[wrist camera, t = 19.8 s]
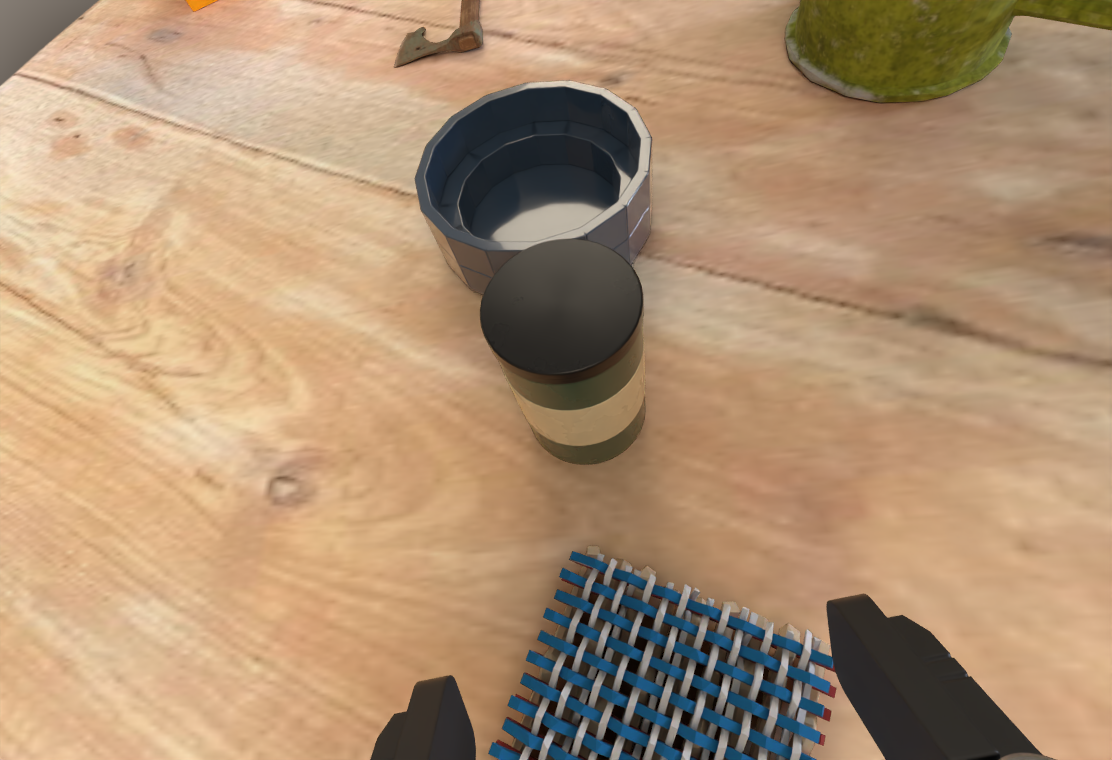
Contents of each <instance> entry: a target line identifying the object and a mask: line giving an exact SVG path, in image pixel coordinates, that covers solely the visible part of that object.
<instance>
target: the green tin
mask: <svg viewBox="0 0 1112 760" xmlns="http://www.w3.org/2000/svg"><path fill="white" fill-rule="evenodd" d="M643 315H644V306H643V291H642V286H641V283H640V280H639V278H638V276H637V274H636V272H635V270H634V269H633V268H632V266H631V265H630V264H629V263H628V262H627V261H626V260H625V259H624V258H623V257H622V256H621V255H620V254H618V253H617V252H616V251H614V250H612V249H610V248H609V247H607V246H604V245H602V244H599V243H596V242H592V241H588V240H582V239H557V240H551V241H547V242H543V243H539V244H537V245H534V246H531V247H529V248H527V249H525V250H523V251H521V252H519V253H518V254H516V255H515V256H513V257H512V258H510V259H509V260H508V261H507V262H505V263H504V264H503V265H502V266H501V267H500V268H499V269H498V270H497V272H496V273H495V274H494V275H493V277H492V278H491V280H490V282H489V283H488V285H487V287H486V289H485V291H484V294H483V298H482V301H481V308H480V321H481V328H482V331H483V334H484V336H485V338H486V340H487V342H488V344H489V346H490V348H491V350H492V352H493V354H494V355H495V357H496V358H497V360H498V362H499V364H500V366H501V368H502V370H503V373H504V375H505V377H506V379H507V381H508V383H509V385H510V387H511V390H512V392H513V394H514V396H515V398H516V400H517V402H518V404H519V406H520V408H521V410H522V412H523V414H524V416H525V417H526V419H527V421H528V422H529V424H530V426H531V428H532V430H533V432H534V434H535V436H536V438H537V440H538V441H539V443H540V444H541V445H542V446H543V447H544V448H545V449H546V450H547V451H548V452H549V453H550V454H552V455H553V456H555V457H557V458H559V459H561V460H563V461H566V462H570V463H574V464H596V463H601V462H604V461H607V460H610V459H612V458H614V457H616V456H618V455H619V454H621V453H622V452H624V451H625V450H626V449H627V448H628V447H629V446H630V445H631V444H632V443H633V442H634V441H635V439H636V438H637V436H638V434H639V433H640V430H641V428H642V426H643V422H644V418H645V360H644V337H643Z"/></svg>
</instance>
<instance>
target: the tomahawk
mask: <svg viewBox="0 0 1112 760" xmlns="http://www.w3.org/2000/svg"><path fill="white" fill-rule="evenodd" d="M478 17H479V0H462V4H461V16H460V28H458V29H457V30H455V31H454V32H453V34H452V35H451V36H450V37H449V38H448V39H447V40H444V41H442V42H438V43H433V42H429V41H428V40H426V39H425V38H424V37H423V36H422V33H424V32H425V30H426V29H425V28H424V27H421V28H419V29H418V30H417V31H415V32H412V33H407V35H406V37H405V39H404V40H403V42H402V44H401V46H400V49H399V51H398V54H397V58H396V61H395V65H394V67H397V66H400V65H403V64H406V63H408V62H411V61H413V60H415V59H418V58H420V57H423V56H426V55H429V54H432V53H436V52H443V51H456V52H465V51H468V50H471V49H475V48H478V47H480V46H481V45H482V42H483V30H482V27H481V24H480V22H479V21H478ZM418 48H420V49H419V50H417V49H418Z"/></svg>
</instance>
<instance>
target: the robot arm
mask: <svg viewBox="0 0 1112 760" xmlns="http://www.w3.org/2000/svg"><path fill="white" fill-rule="evenodd" d="M826 607H827V617H828V626H829V634H830V643H831V651H832V659H833V664H834V668H835V671H836V674H837V677H838V679H839V682H840V684H841V686H842V688H843V690H844V692H845V694H846V695H847V697H848V699H849V700H850V702H851V704H852V705H853V707H854V708H855V710H856V712H857V713H858V715H859V717H860V718H861V720H862V721H863V723H864V725H865V726H866V728H867V730H868V731H869V733H870V735H871V736H872V738H873V739H874V741H875V743H876V744H877V746H878V748H879V749H880V751H881V752H882V754H883V756H884V757H885V759H886V760H1056V759H1053V758H1050V757H1047V756H1044V755H1042V754H1041V753H1040V752H1039V751H1038V750H1037V749H1036V748H1035V747H1034V745H1033V744H1032V743H1031V742H1030V741H1029V740H1028V739H1027V738H1026V737H1025V736H1024V734H1023V733H1022V732H1021V731H1020V730H1019V729H1018V728H1017V727H1016V726H1015V725H1014V723H1013V722H1012V721H1011V720H1010V719H1009V718H1008V717H1007V716H1006V715H1005V714H1004V712H1003V711H1002V710H1001V709H1000V708H999V707H998V706H997V705H996V704H995V703H994V701H993V700H992V699H991V698H990V697H989V696H988V695H987V694H986V693H985V692H984V690H983V689H982V688H981V687H980V686H979V685H978V684H977V683H976V682H975V681H974V679H973V678H972V677H971V676H970V677H969V676H968V675H967V672H966V671H965V670H964V668H963V667H962V666H961V665H960V664H959V663H958V662H957V661H956V660H955V659H954V658H952V657H951V656H950V653H949V652H948V651H947V650H946V649H945V647H944V646H943V645H942V644H941V643H940V642H939V641H938V640H937V639H936V638H935V636H934V635H933V634H932V633H931V632H930V631H928V630H927V629H925V628H923V627H922V626H920V625H918V624H917V623H915V622H913V621H912V620H910V619H908V618H907V617H905V616H903V615H900V616H895V617H889V618H887V617H886V616H885V615H884V613H883V612H882V611H881V610H880V609H879V607H878V606H877V605H876V604H875V603H874V601H873V600H872V599H871V598H870V597H869V596H868V595H866V594H860V595H855V596H850V597H845V598H840V599H835V600H830V601H828V602H827V606H826ZM370 760H476V746H475V737H474V732H473V728H472V725H471V722H470V719H469V716H468V714H467V711H466V708H465V705H464V703H463V700H462V697H461V694H460V691H459V689H458V686H457V683H456V681H455V679H454V677H453V676H451V675H449V676H444V677H439V678H434V679H429V680H424V681H419V682H417V683H416V684H415V686H414V689H413V692H412V696H411V699H410V702H409V706H408V709H407V712H402V713H397V714H394V715H393V717H392V718H391V719H390V721H389V722H388V724H387V725H386V727H385V728H384V729H383V731H382V732H381V734H380V735H379V737H378V738H377V741H376V744H375V747H374V750H373V753H372V756H371V759H370Z"/></svg>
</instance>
